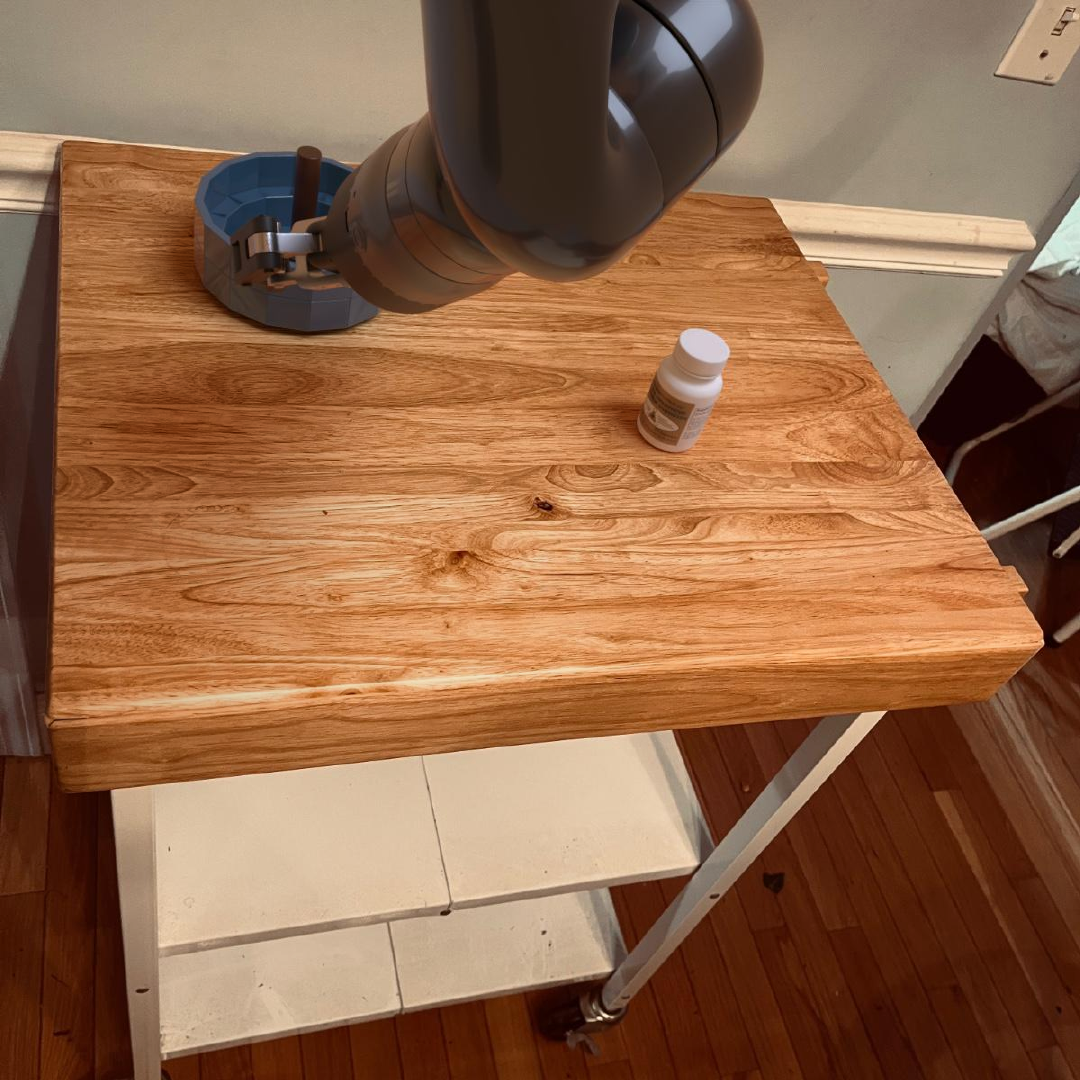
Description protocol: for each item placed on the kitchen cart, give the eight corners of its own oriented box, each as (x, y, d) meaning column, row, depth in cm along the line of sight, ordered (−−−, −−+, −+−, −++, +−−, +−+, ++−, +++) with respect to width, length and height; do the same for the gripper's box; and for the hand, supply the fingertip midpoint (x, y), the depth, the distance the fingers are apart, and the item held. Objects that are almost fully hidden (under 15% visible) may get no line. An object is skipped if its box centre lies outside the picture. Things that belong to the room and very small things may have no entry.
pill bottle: (622, 421, 73) (658, 332, 68) (666, 403, 76) (704, 316, 70) (665, 462, 72) (705, 375, 66) (708, 442, 74) (751, 356, 69)
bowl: (281, 363, 69) (286, 294, 65) (154, 250, 73) (152, 179, 69) (432, 298, 77) (445, 233, 73) (310, 200, 82) (316, 134, 78)
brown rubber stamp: (296, 282, 74) (306, 165, 67) (274, 264, 75) (282, 146, 68) (323, 272, 75) (336, 157, 69) (301, 254, 76) (312, 138, 70)
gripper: (568, 138, 50) (452, 208, 65) (263, 126, 45) (211, 205, 59) (579, 300, 51) (462, 333, 66) (281, 308, 46) (226, 342, 60)
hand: (343, 272), depth 63 cm, fingers open, 8 cm apart
